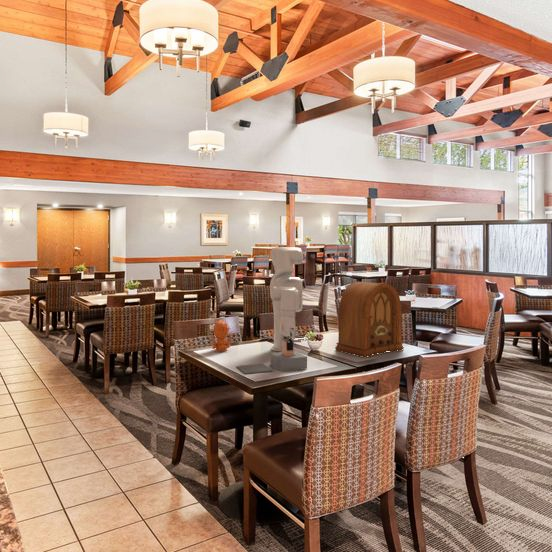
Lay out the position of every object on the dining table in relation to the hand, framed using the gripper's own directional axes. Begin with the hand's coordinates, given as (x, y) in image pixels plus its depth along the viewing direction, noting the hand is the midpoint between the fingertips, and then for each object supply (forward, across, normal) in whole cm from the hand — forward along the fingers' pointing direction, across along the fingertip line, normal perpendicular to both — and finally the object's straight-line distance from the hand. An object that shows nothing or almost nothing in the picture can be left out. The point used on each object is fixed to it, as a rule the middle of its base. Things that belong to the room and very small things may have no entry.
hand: (288, 348), depth 240 cm
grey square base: (+9, 0, 0) cm, 9 cm away
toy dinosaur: (+10, -48, -22) cm, 53 cm away
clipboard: (+10, -68, +27) cm, 74 cm away
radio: (+10, -18, +59) cm, 63 cm away
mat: (+9, -1, -18) cm, 20 cm away
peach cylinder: (+5, 0, 0) cm, 5 cm away
